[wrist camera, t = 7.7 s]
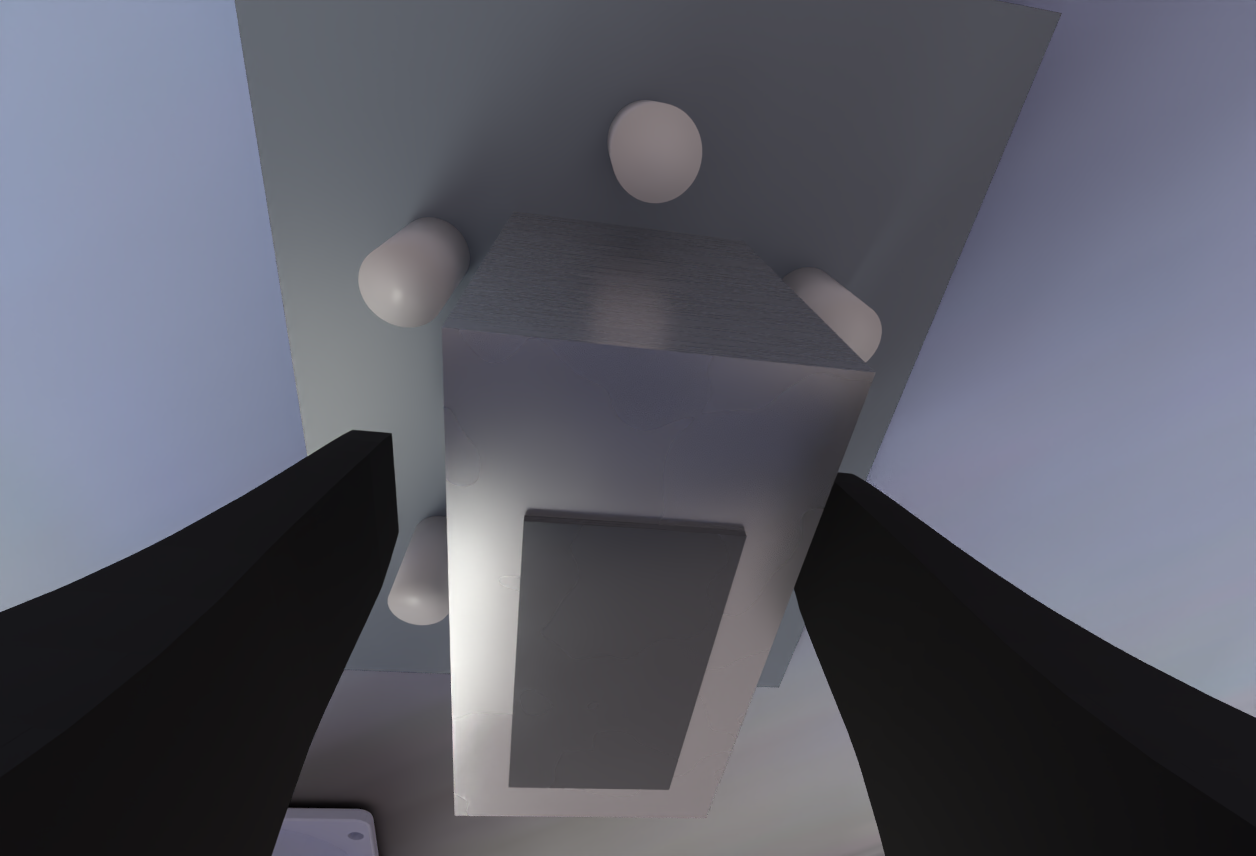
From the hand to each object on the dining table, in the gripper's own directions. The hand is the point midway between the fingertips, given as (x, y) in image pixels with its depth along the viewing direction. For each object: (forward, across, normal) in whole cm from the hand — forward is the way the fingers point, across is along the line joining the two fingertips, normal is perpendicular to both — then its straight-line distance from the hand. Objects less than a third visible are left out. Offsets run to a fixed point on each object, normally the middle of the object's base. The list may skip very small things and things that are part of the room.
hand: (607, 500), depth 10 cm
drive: (+2, 0, 0) cm, 2 cm away
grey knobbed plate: (+3, 0, 0) cm, 3 cm away
